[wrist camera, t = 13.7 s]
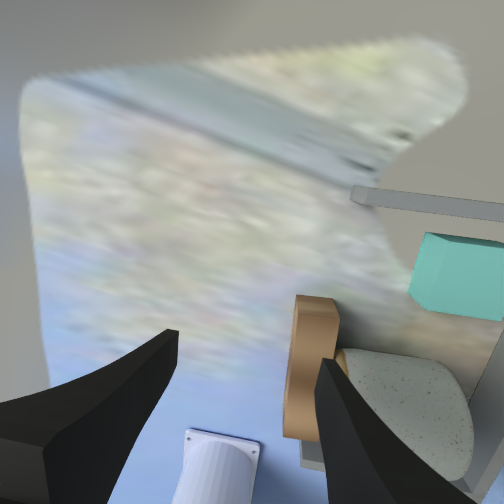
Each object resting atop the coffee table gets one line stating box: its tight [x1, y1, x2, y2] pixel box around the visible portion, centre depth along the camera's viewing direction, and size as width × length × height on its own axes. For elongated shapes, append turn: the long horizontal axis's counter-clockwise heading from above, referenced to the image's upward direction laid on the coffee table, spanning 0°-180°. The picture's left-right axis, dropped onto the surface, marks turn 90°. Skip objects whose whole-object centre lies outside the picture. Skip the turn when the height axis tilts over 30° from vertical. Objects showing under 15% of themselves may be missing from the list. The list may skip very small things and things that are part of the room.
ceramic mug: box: [333, 348, 474, 481], centre depth 20 cm, size 11×8×8 cm
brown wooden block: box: [283, 295, 340, 442], centre depth 22 cm, size 12×3×4 cm, turn 176°
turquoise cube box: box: [408, 232, 504, 321], centre depth 19 cm, size 5×5×3 cm
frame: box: [299, 186, 504, 504], centre depth 20 cm, size 24×15×4 cm, turn 173°
